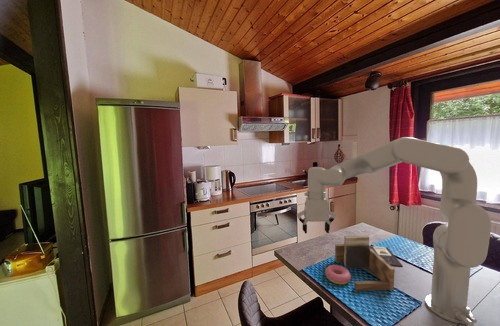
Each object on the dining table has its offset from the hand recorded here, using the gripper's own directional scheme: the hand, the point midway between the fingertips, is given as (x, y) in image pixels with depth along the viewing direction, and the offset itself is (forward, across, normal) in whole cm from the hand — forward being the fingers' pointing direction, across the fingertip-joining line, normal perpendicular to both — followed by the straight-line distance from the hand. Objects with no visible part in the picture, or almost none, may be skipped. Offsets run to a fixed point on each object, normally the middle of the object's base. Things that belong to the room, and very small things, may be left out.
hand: (315, 231), depth 96 cm
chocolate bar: (+22, +41, +15) cm, 49 cm away
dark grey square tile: (+21, +22, +6) cm, 31 cm away
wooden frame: (+21, +22, +1) cm, 30 cm away
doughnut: (+22, +10, -2) cm, 24 cm away
